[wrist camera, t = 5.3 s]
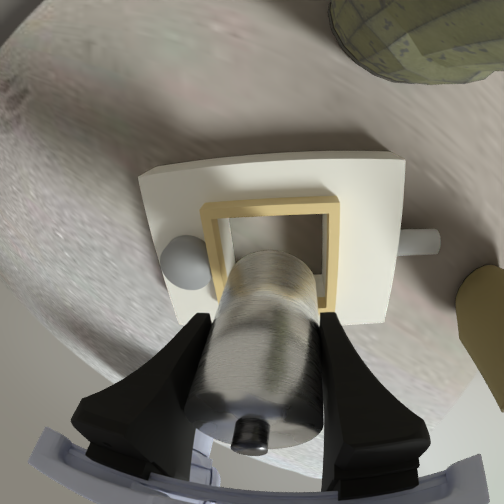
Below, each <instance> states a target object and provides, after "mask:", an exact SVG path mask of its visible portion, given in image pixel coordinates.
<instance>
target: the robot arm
mask: <svg viewBox="0 0 504 504" xmlns="http://www.w3.org/2000/svg"><path fill="white" fill-rule="evenodd" d="M211 326H212V321H211V317H210V313H196V314H195V315H194V316H193V317H192V318H191V319H190V320H189V321H188V323H187V324H186V325H185V326H184V327H183V328H182V329H181V330H180V331H179V332H178V333H177V334H176V335H175V337H174V338H173V339H172V340H171V341H170V342H169V343H168V344H167V345H166V346H165V347H164V348H163V349H162V350H160V351H159V352H158V353H157V354H156V355H155V356H154V357H153V358H152V359H150V360H149V361H148V362H147V363H145V364H144V365H143V366H142V367H140V368H139V369H138V370H136V371H135V372H133V373H132V374H130V375H129V376H127V377H125V378H124V379H122V380H121V381H119V382H117V383H115V384H114V385H112V386H110V387H108V388H106V389H104V390H102V391H100V392H97V393H95V394H92V395H90V396H88V397H85V398H82V400H81V401H80V403H79V405H78V407H77V409H76V411H75V412H74V414H73V416H72V418H71V423H72V425H73V426H74V427H75V428H76V429H77V430H78V431H79V432H80V433H81V434H82V435H83V436H84V437H85V438H86V439H88V441H90V445H89V447H88V449H84V448H82V447H80V446H78V445H75V444H73V443H72V442H71V441H70V440H69V439H68V438H67V437H65V436H64V435H62V434H61V433H59V432H57V431H55V430H53V429H51V428H49V427H45V429H44V431H43V432H42V434H41V436H40V438H39V440H38V442H37V444H36V446H35V448H34V450H33V452H32V454H31V456H30V458H29V460H28V464H30V465H31V466H33V467H34V468H36V469H37V470H39V471H40V472H42V473H43V474H45V475H46V476H48V477H49V478H51V479H53V480H54V481H56V482H57V483H59V484H61V485H63V486H64V487H66V488H68V489H70V490H71V491H73V492H75V493H77V494H79V495H81V496H83V497H85V498H86V499H88V500H90V501H93V502H95V503H97V504H215V503H218V504H488V503H489V502H490V500H489V493H488V487H487V481H486V476H485V471H484V467H483V462H482V457H481V454H477V455H475V456H472V457H469V458H466V459H464V460H461V461H458V462H456V463H454V464H452V465H451V466H449V467H448V468H447V469H446V470H444V471H441V472H438V473H434V474H431V475H427V476H423V477H419V478H418V471H417V468H418V467H419V465H420V464H419V457H420V456H421V455H422V454H423V453H424V452H425V451H426V450H427V449H428V447H429V446H430V444H431V441H430V436H429V432H428V430H427V427H426V424H425V422H424V420H423V419H422V418H420V417H419V416H417V415H416V414H415V413H413V412H412V411H411V410H409V409H408V408H407V407H406V406H404V405H403V404H402V403H401V402H400V401H398V400H397V399H396V398H395V397H394V396H393V395H392V394H391V393H390V392H389V391H388V390H387V389H386V388H385V387H384V386H383V385H382V384H381V383H380V382H379V380H378V379H377V378H376V377H375V376H374V375H373V373H372V372H371V371H370V370H369V368H368V367H367V366H366V365H365V363H364V362H363V360H362V359H361V358H360V356H359V355H358V353H357V352H356V350H355V349H354V347H353V345H352V344H351V342H350V340H349V339H348V337H347V335H346V333H345V331H344V329H343V328H342V326H341V323H340V321H339V319H338V317H337V314H336V313H335V312H320V325H319V329H320V345H321V361H322V383H323V404H324V457H323V475H322V488H321V492H299V493H298V492H295V493H294V492H265V491H251V490H241V489H232V488H224V487H220V475H219V473H218V471H217V469H216V468H215V467H211V466H212V462H213V459H210V458H209V455H210V452H211V447H212V443H213V439H214V438H212V437H210V436H208V435H206V434H204V433H203V432H201V431H199V430H198V429H197V428H195V427H194V426H193V425H192V424H191V423H190V422H189V420H188V419H187V417H186V415H185V412H184V408H185V404H186V401H187V398H188V395H189V392H190V389H191V386H192V383H193V380H194V377H195V374H196V371H197V368H198V365H199V362H200V359H201V356H202V353H203V350H204V347H205V344H206V341H207V338H208V335H209V332H210V329H211Z"/></svg>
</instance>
